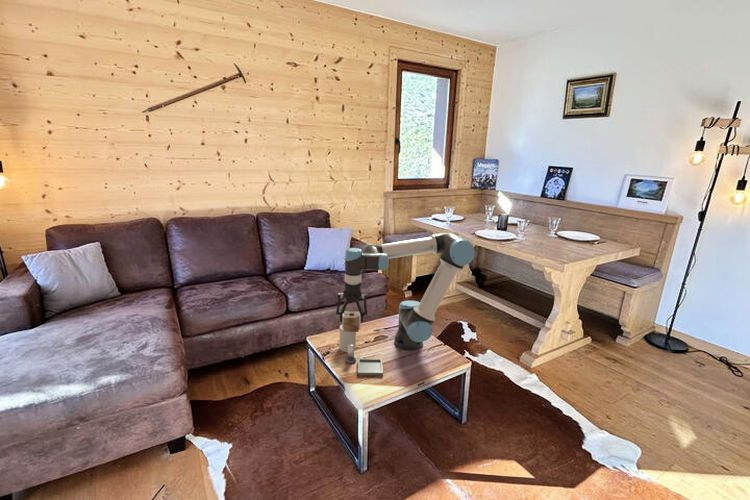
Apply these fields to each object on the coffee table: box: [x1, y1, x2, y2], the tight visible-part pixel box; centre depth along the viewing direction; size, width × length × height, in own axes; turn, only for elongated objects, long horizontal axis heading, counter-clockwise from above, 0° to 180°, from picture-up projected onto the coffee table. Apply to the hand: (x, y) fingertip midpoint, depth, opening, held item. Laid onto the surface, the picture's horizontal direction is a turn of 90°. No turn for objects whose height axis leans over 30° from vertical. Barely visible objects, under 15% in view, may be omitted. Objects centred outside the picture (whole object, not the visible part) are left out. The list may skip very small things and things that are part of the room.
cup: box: [339, 324, 357, 353], centre depth 192 cm, size 8×8×12 cm
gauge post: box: [345, 344, 357, 365], centre depth 181 cm, size 5×5×8 cm
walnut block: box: [343, 310, 360, 333], centre depth 176 cm, size 7×7×7 cm
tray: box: [357, 358, 384, 377], centre depth 176 cm, size 11×11×2 cm
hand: (351, 327), depth 177 cm, fingers closed on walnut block, 7 cm apart
